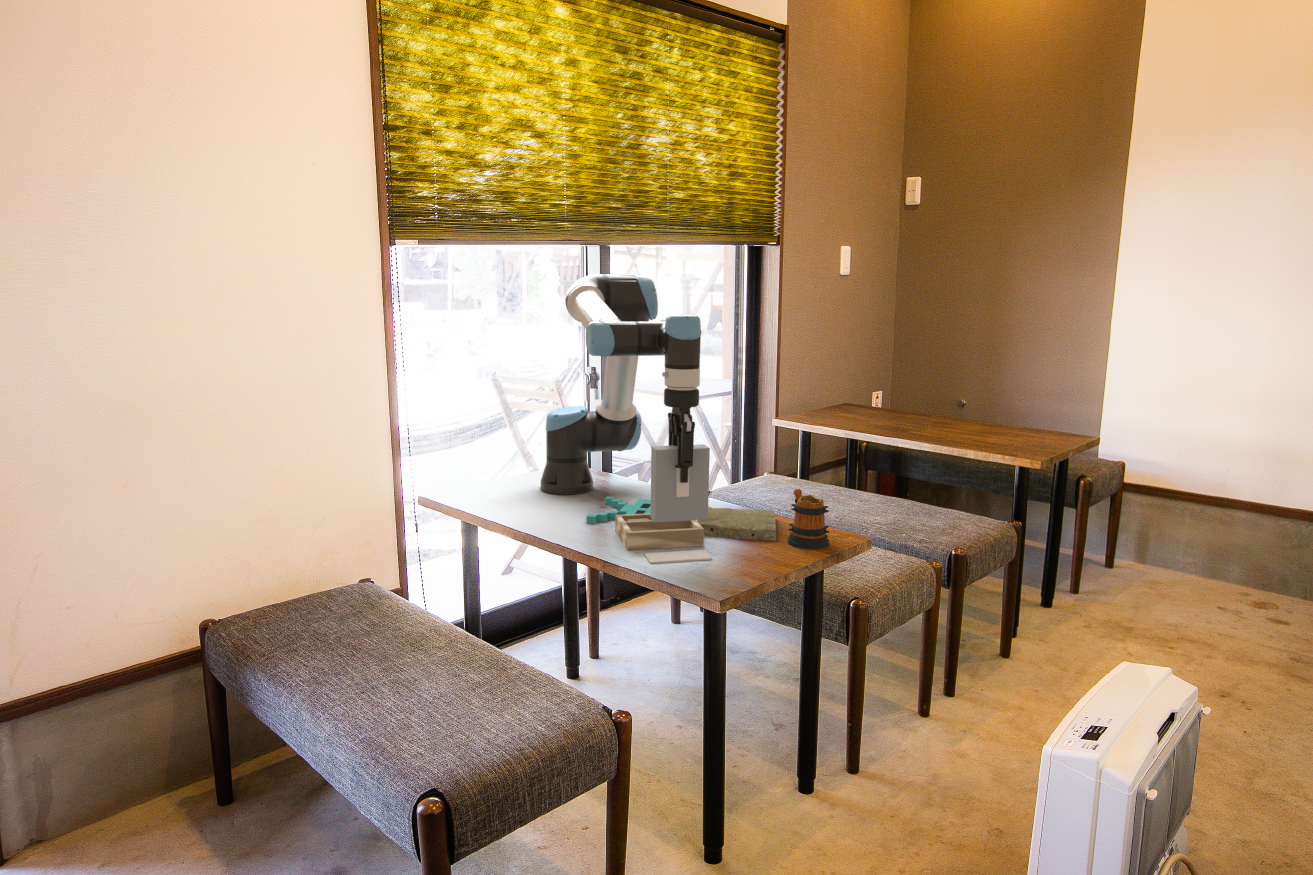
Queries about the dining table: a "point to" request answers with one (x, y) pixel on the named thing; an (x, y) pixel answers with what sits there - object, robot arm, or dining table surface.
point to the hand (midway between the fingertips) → (679, 493)
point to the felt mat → (677, 556)
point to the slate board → (664, 485)
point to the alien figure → (620, 509)
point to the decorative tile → (740, 523)
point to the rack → (657, 532)
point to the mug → (808, 523)
